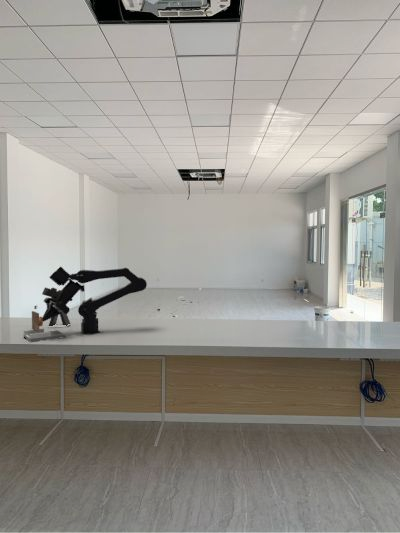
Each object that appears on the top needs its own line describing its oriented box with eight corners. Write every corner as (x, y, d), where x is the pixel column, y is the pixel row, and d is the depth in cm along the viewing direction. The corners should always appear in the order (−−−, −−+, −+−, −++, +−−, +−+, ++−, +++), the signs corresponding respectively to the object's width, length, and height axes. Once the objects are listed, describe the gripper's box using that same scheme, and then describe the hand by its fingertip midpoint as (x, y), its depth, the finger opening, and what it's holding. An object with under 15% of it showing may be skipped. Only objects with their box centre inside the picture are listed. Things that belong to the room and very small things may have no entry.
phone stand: (70, 325, 195) (70, 300, 195) (67, 327, 189) (66, 302, 189) (52, 325, 195) (51, 301, 194) (48, 327, 189) (47, 302, 188)
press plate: (39, 328, 170) (38, 310, 170) (44, 331, 164) (44, 312, 163) (32, 328, 168) (31, 311, 168) (37, 331, 162) (36, 313, 162)
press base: (57, 333, 176) (57, 326, 176) (65, 337, 167) (65, 330, 167) (23, 337, 168) (23, 330, 168) (30, 342, 159) (30, 334, 159)
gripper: (47, 279, 177) (21, 306, 171) (61, 281, 162) (33, 311, 156) (65, 295, 182) (41, 322, 176) (80, 299, 167) (54, 328, 161)
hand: (42, 320), depth 167 cm, fingers closed, pressing on press plate
